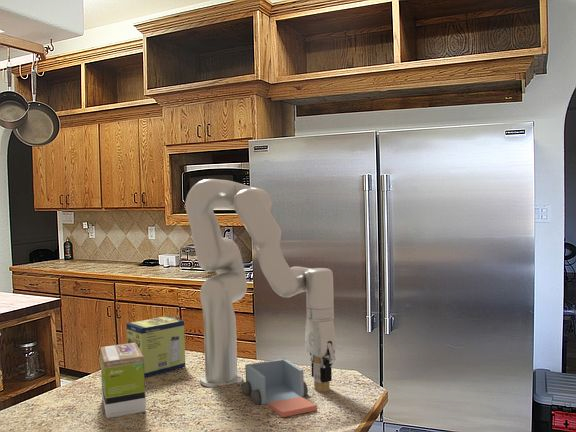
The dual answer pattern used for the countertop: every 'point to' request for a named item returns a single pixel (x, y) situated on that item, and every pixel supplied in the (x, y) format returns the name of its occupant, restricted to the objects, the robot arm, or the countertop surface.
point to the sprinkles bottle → (317, 383)
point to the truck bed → (273, 381)
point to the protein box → (159, 343)
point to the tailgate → (292, 406)
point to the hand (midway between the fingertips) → (321, 378)
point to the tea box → (122, 380)
